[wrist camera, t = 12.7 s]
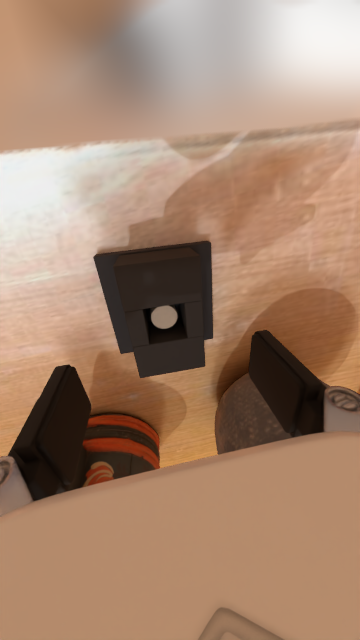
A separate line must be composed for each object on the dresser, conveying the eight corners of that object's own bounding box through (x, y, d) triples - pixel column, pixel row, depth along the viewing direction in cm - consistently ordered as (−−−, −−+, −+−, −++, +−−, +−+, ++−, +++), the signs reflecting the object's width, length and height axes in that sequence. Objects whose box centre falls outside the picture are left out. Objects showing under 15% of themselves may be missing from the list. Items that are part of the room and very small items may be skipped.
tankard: (3, 411, 24) (-359, 927, 7) (122, 371, 24) (67, 782, 7) (84, 485, 33) (20, 787, 16) (171, 455, 33) (202, 725, 16)
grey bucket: (166, 378, 26) (190, 549, 13) (297, 305, 24) (484, 419, 11) (223, 443, 34) (272, 589, 21) (323, 394, 32) (447, 519, 19)
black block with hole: (118, 255, 17) (112, 266, 14) (189, 246, 18) (200, 255, 14) (140, 352, 22) (140, 378, 19) (195, 342, 23) (205, 366, 19)
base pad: (96, 254, 18) (84, 264, 14) (207, 240, 19) (222, 247, 15) (121, 347, 23) (117, 373, 19) (210, 333, 24) (222, 355, 20)
